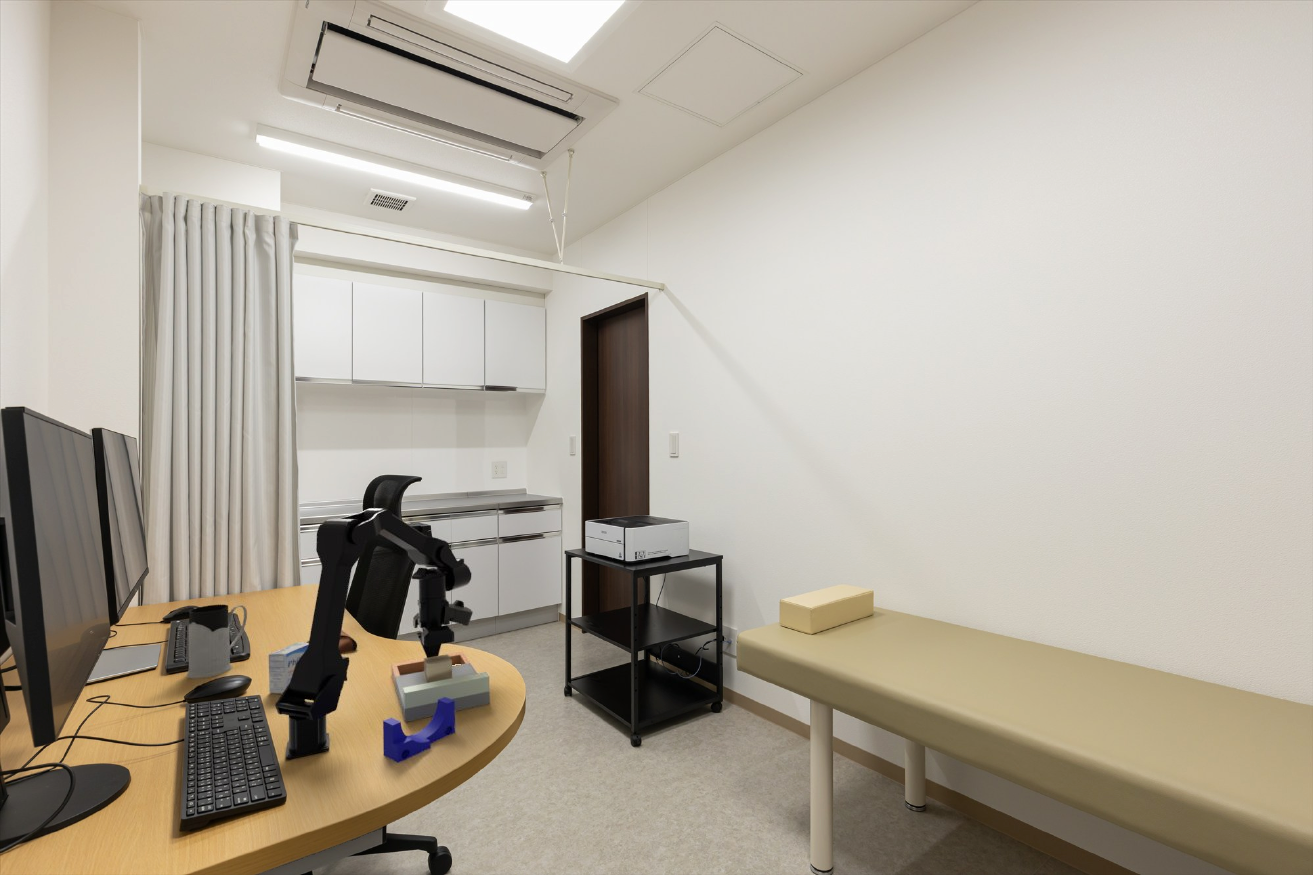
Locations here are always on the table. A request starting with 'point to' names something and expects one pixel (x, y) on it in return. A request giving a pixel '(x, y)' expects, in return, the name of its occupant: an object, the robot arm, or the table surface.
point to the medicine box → (284, 666)
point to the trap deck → (433, 707)
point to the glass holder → (210, 640)
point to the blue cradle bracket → (408, 746)
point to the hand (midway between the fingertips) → (433, 665)
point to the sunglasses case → (346, 643)
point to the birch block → (437, 668)
